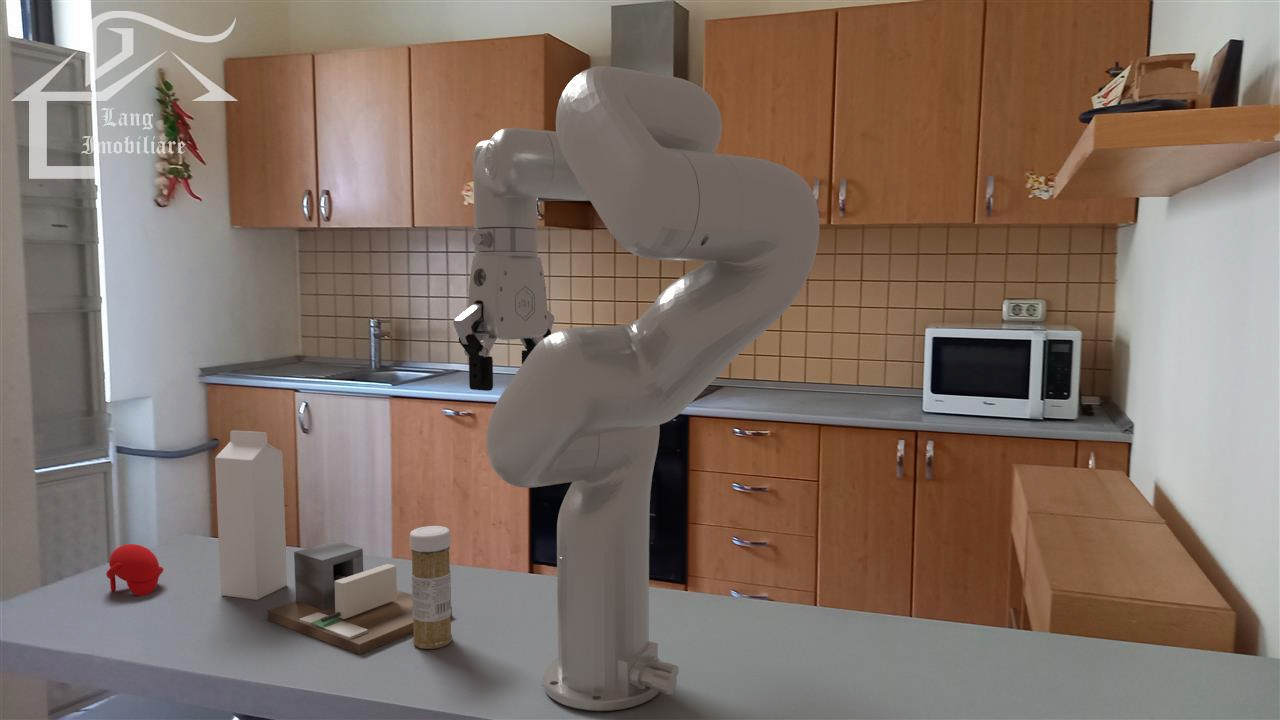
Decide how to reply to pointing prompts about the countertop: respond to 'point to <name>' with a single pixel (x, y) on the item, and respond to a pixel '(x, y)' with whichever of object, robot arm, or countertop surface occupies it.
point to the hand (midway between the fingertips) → (508, 385)
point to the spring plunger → (364, 591)
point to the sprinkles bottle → (431, 586)
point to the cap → (134, 568)
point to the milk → (250, 516)
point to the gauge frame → (319, 601)
